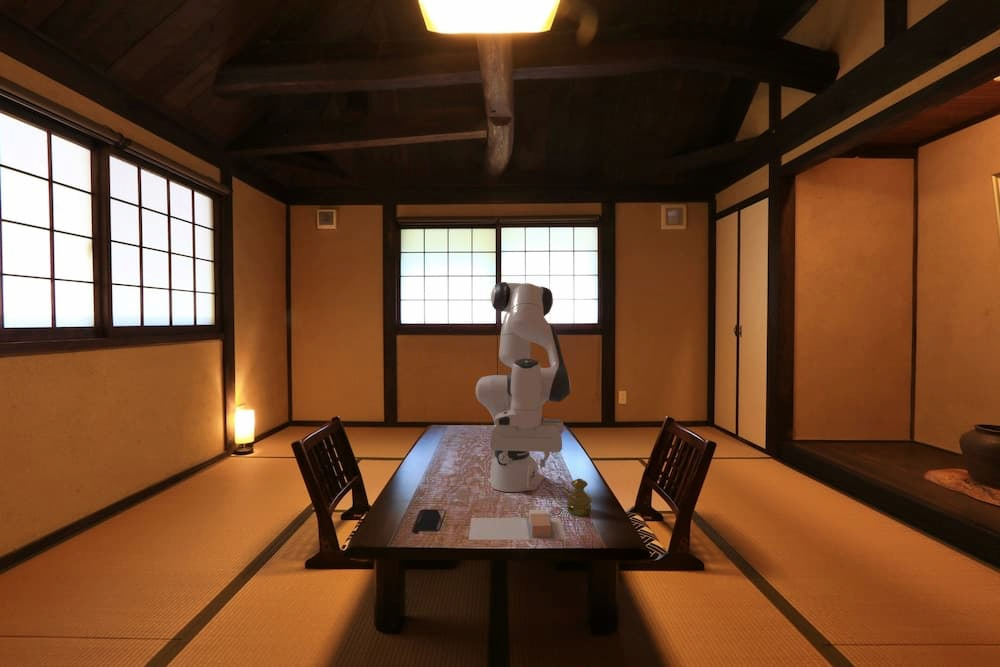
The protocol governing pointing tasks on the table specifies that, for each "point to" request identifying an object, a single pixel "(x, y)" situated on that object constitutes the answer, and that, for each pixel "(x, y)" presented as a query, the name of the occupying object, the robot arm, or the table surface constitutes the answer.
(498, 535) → the mat
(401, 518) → the table surface
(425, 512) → the phone
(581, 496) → the olive green vase
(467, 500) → the table surface
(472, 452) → the table surface
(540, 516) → the two-tone tall block
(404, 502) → the table surface
